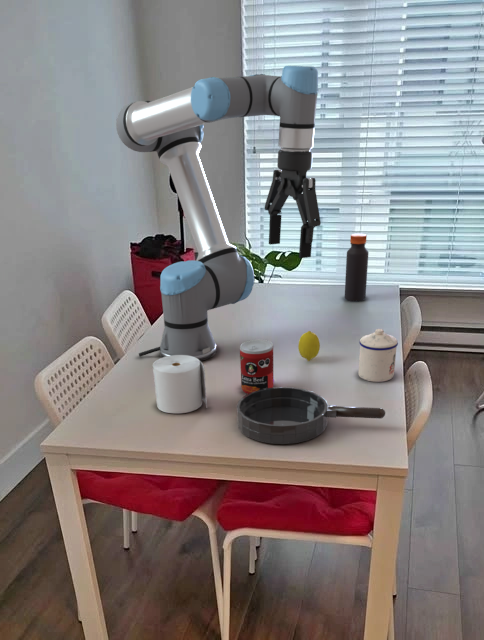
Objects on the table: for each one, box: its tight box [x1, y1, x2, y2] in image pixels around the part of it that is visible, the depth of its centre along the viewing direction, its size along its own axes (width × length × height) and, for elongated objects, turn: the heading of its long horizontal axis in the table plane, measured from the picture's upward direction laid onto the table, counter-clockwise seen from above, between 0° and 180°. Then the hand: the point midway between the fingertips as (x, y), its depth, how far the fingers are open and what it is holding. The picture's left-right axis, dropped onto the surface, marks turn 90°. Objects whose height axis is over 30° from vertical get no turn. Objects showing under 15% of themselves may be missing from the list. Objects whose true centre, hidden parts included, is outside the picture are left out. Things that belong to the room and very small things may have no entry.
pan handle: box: [327, 404, 386, 420], centre depth 141 cm, size 12×3×2 cm, turn 81°
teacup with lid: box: [357, 328, 399, 383], centre depth 164 cm, size 12×9×12 cm
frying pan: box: [236, 386, 329, 445], centre depth 144 cm, size 19×19×4 cm
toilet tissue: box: [152, 355, 208, 414], centre depth 153 cm, size 11×12×10 cm
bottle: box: [344, 233, 369, 302], centre depth 215 cm, size 7×7×20 cm
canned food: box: [239, 339, 274, 395], centre depth 159 cm, size 8×8×11 cm
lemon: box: [297, 330, 321, 362], centre depth 174 cm, size 6×6×8 cm
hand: (289, 250), depth 157 cm, fingers open, 13 cm apart
